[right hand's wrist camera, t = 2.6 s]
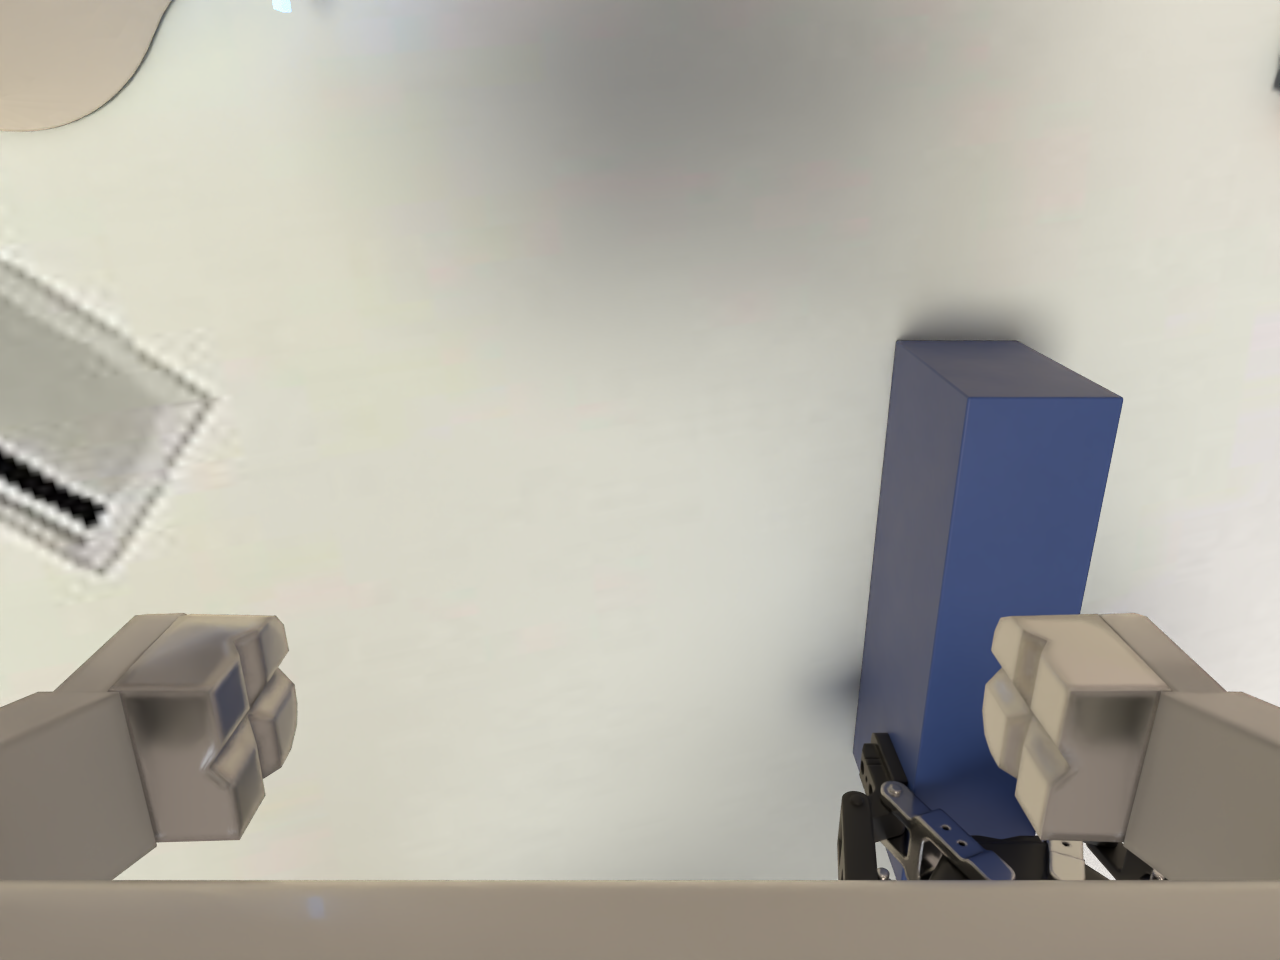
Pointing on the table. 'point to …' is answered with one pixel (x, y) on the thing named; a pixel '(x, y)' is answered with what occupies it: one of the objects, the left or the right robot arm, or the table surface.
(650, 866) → the table surface
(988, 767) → the bar
